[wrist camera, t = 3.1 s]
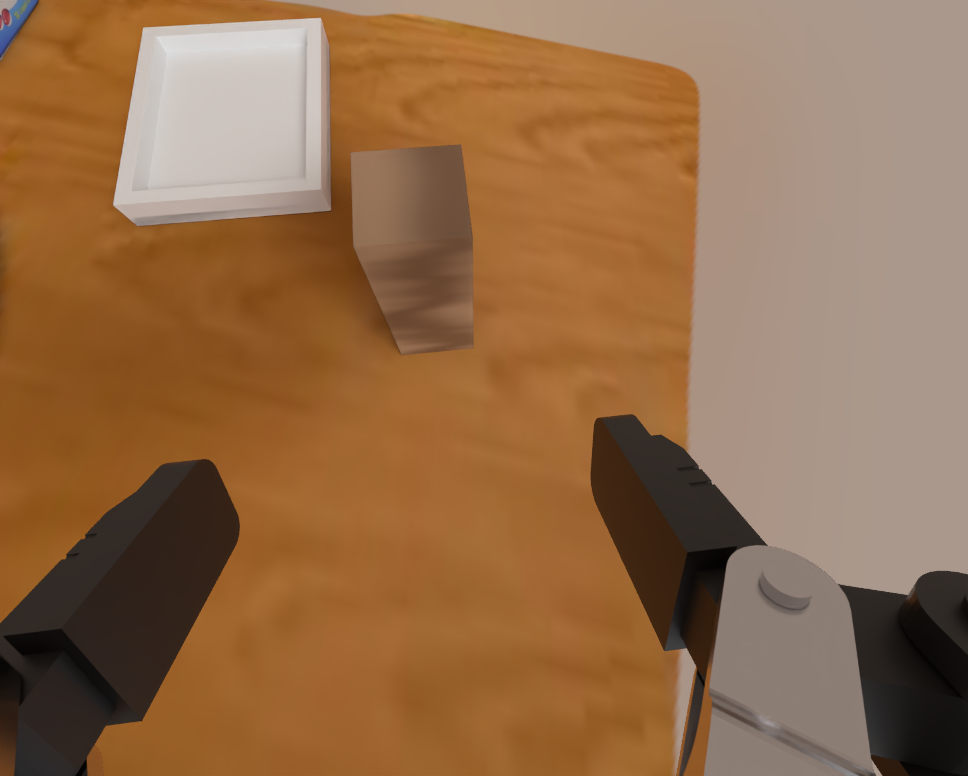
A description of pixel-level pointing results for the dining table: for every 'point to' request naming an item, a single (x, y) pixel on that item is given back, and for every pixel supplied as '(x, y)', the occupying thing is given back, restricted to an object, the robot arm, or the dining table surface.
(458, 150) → the brown wooden block
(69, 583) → the robot arm
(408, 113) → the dining table surface
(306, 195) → the tray
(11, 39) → the medicine box
